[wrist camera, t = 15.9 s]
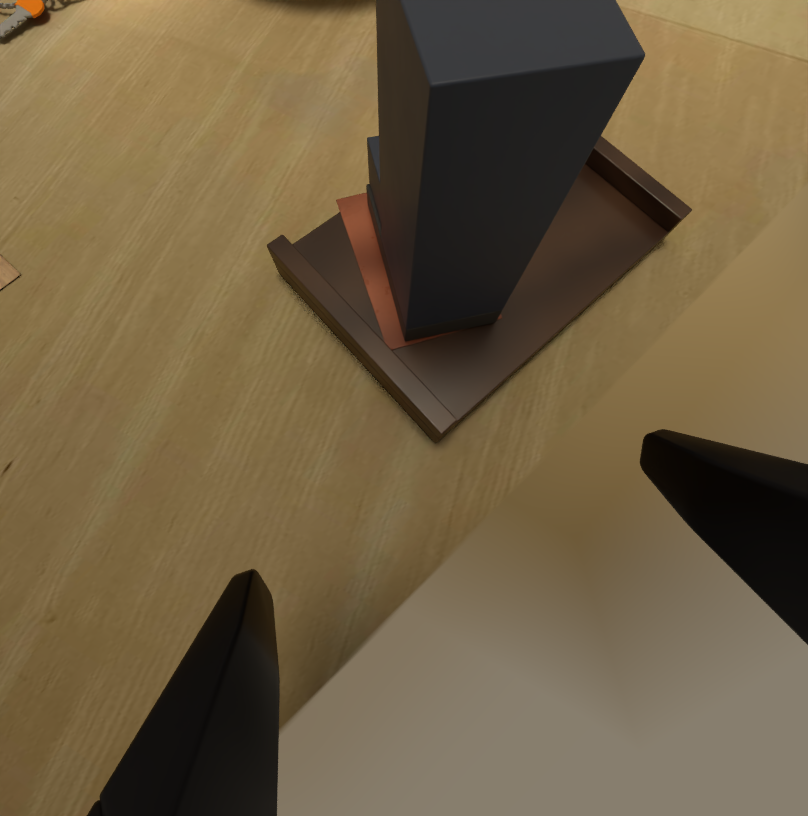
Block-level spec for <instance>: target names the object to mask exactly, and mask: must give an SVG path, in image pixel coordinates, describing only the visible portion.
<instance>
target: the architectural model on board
mask: <svg viewBox="0 0 808 816" xmlns="http://www.w3.org/2000/svg"><path fill="white" fill-rule="evenodd" d="M19 275H21V274H20V273H19V272H18V271H17V270H16V269H15V268H14V267H13V266H12V265H10V264H9V263H8V262H7V261H6V260H5V259H4V258H3V257H2V256H1V255H0V289H2V288H3V287H4V286H6V285H7V284H8V283H10V282H11V281H12V280H14V279H15V278H17V277H18V276H19Z"/></svg>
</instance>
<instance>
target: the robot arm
mask: <svg viewBox="0 0 808 816" xmlns="http://www.w3.org/2000/svg"><path fill="white" fill-rule="evenodd" d="M640 465H641V468H642V470H643V471H644V473H645V474H646V475H647V477H648V478H649V479H650V480H651V481H652V483H653V484H654V485H655V486H656V487H657V489H658V490H659V491H660V492H661V493H662V495H663V496H664V497H665V498H666V499H667V501H668V502H669V503H670V504H671V505H672V506H673V508H674V509H675V510H676V511H677V513H678V514H679V515H680V516H681V517H682V518H683V520H684V521H685V522H686V523H687V524H688V525H689V526H690V527H691V528H692V529H693V531H694V532H695V533H696V534H697V535H698V536H699V537H700V538H701V539H702V540H703V541H705V543H706V544H707V545H708V546H709V547H710V548H711V549H712V550H713V551H714V552H716V554H718V556H719V557H720V558H721V559H723V561H724V562H725V563H726V564H727V565H728V566H729V567H730V568H731V569H732V570H733V571H734V572H735V573H736V574H737V575H738V576H739V577H741V579H742V580H743V581H744V582H745V583H746V584H747V585H748V586H749V587H751V589H752V590H753V591H754V592H755V593H756V594H757V595H758V596H759V597H760V598H761V599H763V601H764V602H766V604H768V606H769V607H770V608H771V609H772V610H774V611H775V613H776V614H778V616H779V617H780V618H781V619H782V620H783V621H784V622H785V623H786V624H787V625H788V626H789V627H790V628H791V629H792V630H793V631H795V633H797V635H799V637H801V639H803V641H804V642H806V643H807V645H808V464H804V463H800V462H796V461H792V460H788V459H784V458H779V457H776V456H771V455H768V454H764V453H759V452H755V451H751V450H747V449H743V448H739V447H735V446H731V445H727V444H723V443H719V442H714V441H711V440H706V439H702V438H698V437H694V436H690V435H686V434H682V433H678V432H674V431H670V430H665V429H662V430H657V431H655V432H652V433H649V434H647V435H646V436H645V437H644V439H643V444H642V450H641V457H640ZM278 738H279V666H278V654H277V643H276V631H275V619H274V607H273V599H272V596H271V593H270V591H269V589H268V588H267V586H266V584H265V583H264V581H263V580H262V578H261V576H260V575H259V573H258V572H257V571H256V570H255V569H251V570H248V571H245V572H242V573H239V574H236V575H235V576H234V577H233V578H232V579H231V580H230V582H229V584H228V585H227V587H226V589H225V590H224V592H223V593H222V595H221V597H220V598H219V600H218V602H217V603H216V605H215V607H214V608H213V610H212V611H211V613H210V615H209V616H208V618H207V620H206V621H205V623H204V625H203V626H202V628H201V630H200V631H199V633H198V634H197V636H196V638H195V639H194V641H193V643H192V644H191V646H190V648H189V649H188V651H187V653H186V654H185V656H184V657H183V659H182V661H181V662H180V664H179V666H178V667H177V669H176V671H175V672H174V674H173V675H172V677H171V679H170V680H169V682H168V684H167V685H166V687H165V689H164V690H163V692H162V694H161V695H160V697H159V698H158V700H157V702H156V703H155V705H154V707H153V708H152V710H151V712H150V713H149V715H148V717H147V718H146V720H145V721H144V723H143V725H142V726H141V728H140V730H139V731H138V733H137V735H136V736H135V738H134V739H133V741H132V743H131V744H130V746H129V748H128V749H127V751H126V753H125V754H124V756H123V758H122V759H121V761H120V762H119V764H118V766H117V767H116V769H115V771H114V772H113V774H112V776H111V777H110V779H109V781H108V782H107V784H106V785H105V787H104V789H103V790H102V792H101V794H100V800H98V801H96V802H95V803H94V805H93V806H92V808H91V810H90V811H89V813H88V815H87V816H277V782H278Z"/></svg>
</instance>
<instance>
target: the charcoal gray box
mask: <svg viewBox="0 0 808 816" xmlns="http://www.w3.org/2000/svg"><path fill="white" fill-rule="evenodd" d="M376 23H377V68H378V114H379V136H375V137H368V138H367V147H368V166H369V184H367V186H366V187H367V203H368V207H369V210H370V214H371V218H372V222H373V225H374V229H375V233H376V237H377V240H378V244H379V248H380V251H381V255H382V259H383V263H384V266H385V270H386V274H387V277H388V281H389V285H390V289H391V292H392V296H393V300H394V303H395V307H396V311H397V315H398V318H399V322H400V326H401V330H402V333H403V337H404V340H405V341H410V340H415V339H420V338H424V337H429V336H434V335H439V334H444V333H448V332H453V331H458V330H463V329H467V328H472V327H477V326H482V325H486V324H491V323H495V322H496V321H497V319H498V317H499V315H500V314H501V312H502V310H503V308H504V307H505V305H506V303H507V301H508V299H509V298H510V296H511V294H512V292H513V291H514V289H515V287H516V285H517V283H518V282H519V280H520V278H521V276H522V275H523V273H524V271H525V269H526V267H527V266H528V264H529V262H530V260H531V259H532V257H533V255H534V253H535V251H536V250H537V248H538V246H539V244H540V243H541V241H542V239H543V237H544V235H545V234H546V232H547V230H548V228H549V227H550V225H551V223H552V221H553V219H554V218H555V216H556V214H557V212H558V211H559V209H560V207H561V205H562V203H563V202H564V200H565V198H566V196H567V194H568V193H569V191H570V189H571V187H572V186H573V184H574V182H575V180H576V178H577V177H578V175H579V173H580V171H581V170H582V168H583V166H584V164H585V162H586V161H587V159H588V157H589V155H590V154H591V152H592V150H593V148H594V146H595V145H596V143H597V141H598V139H599V138H600V136H601V134H602V132H603V130H604V129H605V127H606V125H607V123H608V122H609V120H610V118H611V116H612V114H613V113H614V111H615V109H616V107H617V106H618V104H619V102H620V100H621V98H622V97H623V95H624V93H625V91H626V90H627V88H628V86H629V84H630V82H631V81H632V79H633V77H634V75H635V74H636V72H637V70H638V68H639V66H640V65H641V63H642V61H643V59H644V57H645V52H644V51H643V49H642V47H641V45H640V43H639V42H638V40H637V38H636V36H635V34H634V33H633V31H632V29H631V27H630V25H629V24H628V22H627V20H626V18H625V16H624V15H623V13H622V11H621V9H620V7H619V5H618V4H617V2H616V0H376Z"/></svg>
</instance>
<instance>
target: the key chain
mask: <svg viewBox="0 0 808 816" xmlns="http://www.w3.org/2000/svg"><path fill="white" fill-rule="evenodd" d="M46 1H47V0H18V1H17V2H13V3H11V4H10V3H5V4H3V3H0V8H2V9H6V8H8V9H13V8H16V12H14V13H13V14H12V15H11V16H10V17H8V18H7V19H6V20H5V21H4V22H2V23H1V24H0V38H1V37H5V36H6V35H5V34H6V33H7V32H9V31H10V32H11V31H12V28H13V27H14V28H17V27H18V25H19V22H23V21H26V20H27V19H26V18H32V17H33V18H36V17H37V16H39V15H41V13H42V12H43V11H44V3H45V2H46Z"/></svg>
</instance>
